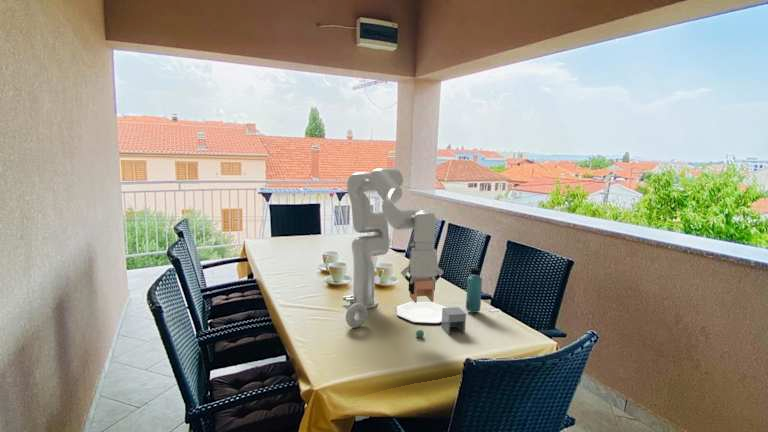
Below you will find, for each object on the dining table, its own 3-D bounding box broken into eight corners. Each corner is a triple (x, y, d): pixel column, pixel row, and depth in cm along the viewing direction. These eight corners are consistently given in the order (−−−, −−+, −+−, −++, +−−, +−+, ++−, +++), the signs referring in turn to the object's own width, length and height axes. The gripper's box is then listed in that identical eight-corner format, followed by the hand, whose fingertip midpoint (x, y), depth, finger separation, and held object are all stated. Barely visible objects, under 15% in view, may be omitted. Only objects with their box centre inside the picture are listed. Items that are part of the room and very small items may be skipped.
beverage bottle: (481, 310, 179) (483, 267, 176) (479, 316, 172) (482, 271, 170) (466, 308, 181) (468, 265, 178) (464, 314, 174) (466, 269, 172)
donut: (348, 332, 153) (349, 307, 152) (343, 329, 156) (343, 304, 154) (369, 325, 160) (369, 301, 159) (363, 322, 162) (364, 299, 161)
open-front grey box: (447, 334, 153) (449, 314, 152) (441, 327, 160) (442, 308, 159) (464, 333, 155) (466, 313, 154) (457, 326, 162) (458, 307, 161)
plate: (396, 303, 186) (396, 300, 185) (447, 305, 185) (447, 302, 185) (396, 324, 162) (396, 321, 162) (455, 327, 162) (455, 323, 161)
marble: (417, 339, 149) (417, 331, 148) (414, 336, 151) (415, 328, 151) (424, 338, 149) (425, 331, 149) (422, 335, 152) (422, 327, 152)
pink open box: (415, 302, 144) (415, 281, 143) (409, 296, 151) (410, 275, 150) (433, 301, 146) (434, 280, 144) (427, 295, 152) (428, 275, 151)
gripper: (403, 248, 140) (401, 297, 142) (449, 247, 144) (447, 294, 146) (397, 243, 147) (396, 290, 150) (442, 242, 151) (440, 288, 153)
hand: (421, 292), depth 148 cm, fingers closed on pink open box, 7 cm apart
